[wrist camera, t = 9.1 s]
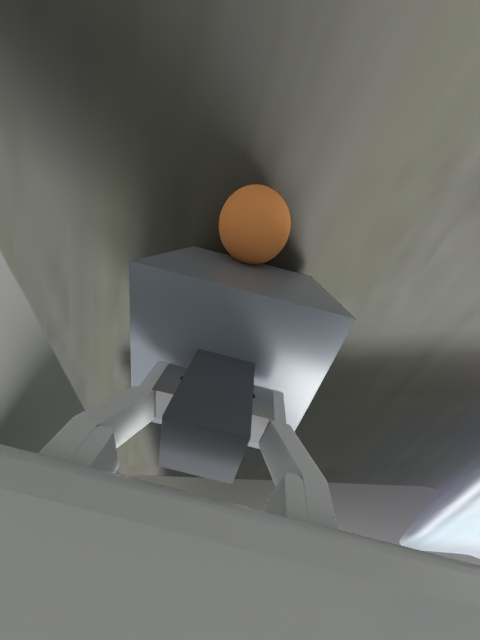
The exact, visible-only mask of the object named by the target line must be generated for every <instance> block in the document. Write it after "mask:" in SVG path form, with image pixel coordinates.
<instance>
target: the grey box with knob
mask: <svg viewBox="0 0 480 640" xmlns="http://www.w3.org/2000/svg"><path fill="white" fill-rule="evenodd" d="M129 283H130V337H131V388H132V387H134V386H140V384H141V383H142V382H143V380H144V379H145V378H146V376H147V375H148V374H149V372H150V371H151V370H152V368H153V367H154V365H155V364H156V363H157V362H158V361H163V362H166V363H171V364H174V365H178V366H181V367H185V368H188V369H187V371H186V372H185V374H184V376H183V378H182V380H181V382H180V384H179V385H178V387H177V389H176V391H175V393H174V395H173V397H172V398H171V400H170V402H169V404H168V406H167V408H166V410H165V411H164V413H163V415H162V419H159V418H155V419H154V420H152V421H151V422H155V423H159V424H162V427H161V439H160V451H159V464H158V466H161V467H165V468H169V469H173V470H177V471H181V472H185V473H189V474H193V475H197V476H201V477H205V478H209V479H213V480H216V481H220V482H224V483H228V484H232V483H233V480H234V478H235V475H236V473H237V470H238V468H239V465H240V463H241V460H242V458H243V456H244V453H245V451H246V448H247V446H250V447H254V448H258V449H260V447H259V444H258V443H254V442H251V441H250V438H251V423H252V405H253V387H254V385H256V386H260V387H265V388H269V389H273V390H277V391H281V392H283V394H284V404H285V414H286V424H288V425H290V426H291V428H292V429H293V431H294V432H295V430H296V428H297V426H298V424H299V422H300V421H301V419H302V417H303V415H304V413H305V411H306V410H307V408H308V406H309V404H310V402H311V400H312V399H313V397H314V395H315V393H316V391H317V389H318V388H319V386H320V384H321V382H322V380H323V378H324V377H325V375H326V373H327V371H328V369H329V367H330V365H331V364H332V362H333V360H334V358H335V356H336V354H337V353H338V351H339V349H340V347H341V345H342V343H343V342H344V340H345V338H346V336H347V334H348V332H349V331H350V329H351V327H352V325H353V323H354V321H355V320H356V318H354V317H353V316H352V315H351V314H350V313H349V312H348V311H347V310H346V309H345V308H344V307H343V306H342V305H341V304H340V303H339V302H338V301H336V300H335V299H334V298H333V297H332V296H331V295H330V294H329V293H328V292H327V291H326V290H325V289H324V288H323V287H322V286H321V285H320V284H319V283H317V282H316V281H315V280H314V279H313V278H312V277H311V276H308V275H304V274H301V273H297V272H293V271H289V270H285V269H281V268H277V267H273V266H269V265H265V264H247V263H243V262H241V261H238V260H237V259H235V258H234V257H233V256H230V255H226V254H222V253H218V252H214V251H211V250H207V249H203V248H199V247H195V246H192V247H187V248H183V249H179V250H175V251H170V252H166V253H162V254H157V255H153V256H149V257H144V258H140V259H136V260H131V261H129Z"/></svg>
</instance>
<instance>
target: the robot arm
mask: <svg viewBox="0 0 480 640" xmlns="http://www.w3.org/2000/svg"><path fill="white" fill-rule="evenodd" d="M187 369H188V368H185V367H181V366H178V365H174V364H171V363H166V362H163V361H158V362H157V363H156V364H155V365H154V367H153V368H152V370H151V371H150V372H149V374H148V375H147V376H146V378H145V379H144V380H143V382H142V383H141V384H140V386H134V387H132V388H130V389H128V390H126V391H124V392H122V393H120V394H118V395H116V396H114V397H112V398H110V399H108V400H106V401H104V402H102V403H100V404H98V405H96V406H94V407H92V408H90V409H88V410H86V411H84V412H82V413H80V414H78V415H76V416H74V417H73V418H72V419H71V420H70V421H69V422H68V423H67V424H66V425H65V426H64V427H63V428H62V429H61V430H60V431H59V432H58V433H57V435H56V436H55V437H54V438H53V439H52V440H51V441H50V442H49V443H48V444H47V445H46V446H45V447H44V448H43V449H42V450H41V451H40V453H38V454H36V453H32V452H28V451H23V450H20V449H16V448H12V447H8V446H4V445H0V640H480V566H479V565H475V564H471V563H467V562H463V561H460V560H456V559H451V558H448V557H444V556H440V555H435V554H432V553H428V552H424V551H420V550H416V549H412V548H408V547H404V546H400V545H396V544H392V543H388V542H384V541H380V540H376V539H372V538H369V537H364V536H360V535H357V534H353V533H349V532H345V531H341V530H338V528H337V523H336V519H335V514H334V510H333V505H332V501H331V496H330V492H329V487H328V483H327V480H326V479H325V477H324V476H323V474H322V473H321V471H320V470H319V468H318V467H317V465H316V464H315V462H314V461H313V459H312V458H311V456H310V455H309V453H308V452H307V450H306V449H305V447H304V446H303V444H302V443H301V441H300V440H299V438H298V437H297V435H296V434H295V432H294V431H293V429H292V428H291V426H290V425H288V424H286V414H285V404H284V394H283V392H281V391H277V390H273V389H269V388H265V387H260V386H256V385H254V387H253V405H252V423H251V438H250V441H251V442H254V443H258V444H259V447H260V450H261V452H262V455H263V457H264V460H265V462H266V465H267V467H268V470H269V472H270V474H271V477H272V479H273V482H274V484H275V487H276V488H275V489H274V491H273V492H272V493H271V495H270V496H269V497H268V499H267V500H266V501H265V511H262V510H258V509H254V508H249V507H246V506H242V505H238V504H234V503H230V502H226V501H221V500H218V499H214V498H210V497H206V496H202V495H198V494H194V493H190V492H186V491H182V490H179V489H174V488H170V487H167V486H163V485H159V484H155V483H151V482H147V481H143V480H139V479H135V478H131V477H127V476H123V475H119V474H115V472H116V470H117V468H118V467H119V461H118V455H117V450H116V448H118V447H119V446H120V445H121V444H123V443H124V442H125V441H127V440H128V439H129V438H130V437H132V436H133V435H134V434H136V433H137V432H138V431H139V430H141V429H142V428H143V427H145V426H146V425H147V424H148V423H150V422H151V421H152V420H154V419H155V418H159V419H162V415H163V413H164V411H165V410H166V408H167V406H168V404H169V402H170V400H171V398H172V397H173V395H174V393H175V391H176V389H177V387H178V385H179V384H180V382H181V380H182V378H183V376H184V374H185V372H186V371H187Z"/></svg>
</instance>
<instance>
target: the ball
mask: <svg viewBox="0 0 480 640" xmlns="http://www.w3.org/2000/svg"><path fill="white" fill-rule="evenodd" d="M290 228H291V218H290V212H289V209H288V207H287V204H286V202H285V201H284V199H283V198H282V197H281V195H280V194H279V193H277V192H276V191H275V190H273V189H272V188H270V187H267V186H264V185H259V184H255V185H248V186H244V187H242V188H240V189H238V190H237V191H235V192H234V193H233V194H232V195H231V196H230V197H229V198H228V199H227V201H226V202H225V204H224V206H223V208H222V210H221V213H220V218H219V234H220V238H221V241H222V243H223V245H224V247H225V249H226V250H227V251H228V252H229V254H230V255H231V256H233V257H234V258H235V259H237V260H238V261H241V262H243V263H247V264H261V263H264V262H267V261H269V260H271V259H272V258H274V257H275V256H276V255H277V254H278V253H279V252H280V251H281V250H282V249H283V247H284V246H285V244H286V242H287V240H288V237H289V234H290Z"/></svg>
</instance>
